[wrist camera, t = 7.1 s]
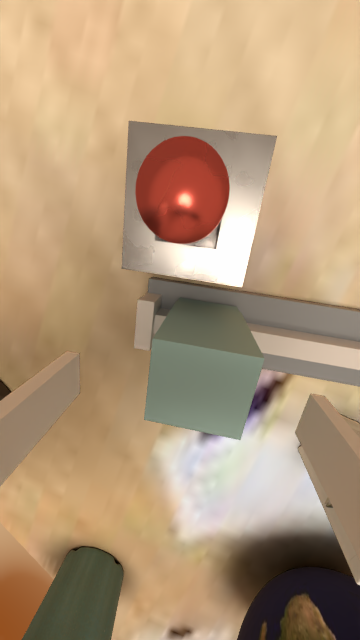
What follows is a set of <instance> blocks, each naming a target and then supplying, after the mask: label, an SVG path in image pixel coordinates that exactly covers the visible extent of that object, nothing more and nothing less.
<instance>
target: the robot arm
mask: <svg viewBox="0 0 360 640" xmlns="http://www.w3.org/2000/svg"><path fill="white" fill-rule="evenodd" d="M79 394H80V353H75V352H69V351H66V352H65V353H64V354H62V355H61V356H60V357H58V358H57V359H56V360H54V361H53V362H52V363H50V364H49V365H48V366H46V367H45V368H44V369H42V370H41V371H40V372H38V373H37V374H36V375H34V376H33V377H32V378H30V379H29V380H28V381H26V382H25V383H24V384H22V385H21V386H19V387H18V388H17V389H15V390H14V391H13V392H11V393H10V391H9V390H8V389H7V388H6V386H5V385H4V384H3V383H2V382H1V381H0V486H1V485H2V484H3V483H4V481H5V480H6V479H7V478H8V477H9V476H10V474H11V473H12V472H13V471H14V470H15V469H16V467H17V466H18V465H19V464H20V463H21V462H22V460H23V459H24V458H25V457H26V456H27V455H28V453H29V452H30V451H31V450H32V449H33V448H34V446H35V445H36V444H37V443H38V442H39V440H40V439H41V438H42V437H43V436H44V435H45V433H46V432H47V431H48V430H49V429H50V428H51V426H52V425H53V424H54V423H55V422H56V421H57V419H58V418H59V417H60V416H61V415H62V414H63V412H64V411H65V410H66V409H67V408H68V407H69V405H70V404H71V403H72V402H73V401H74V400H75V398H76V397H77V396H78V395H79ZM295 433H296V435H297V437H298V439H299V441H300V443H301V445H302V447H303V449H304V451H305V453H306V455H307V457H308V459H309V461H310V463H311V465H312V467H313V469H314V471H315V473H316V475H317V477H318V479H319V481H320V483H321V485H322V487H323V489H324V491H325V493H326V494H327V496H328V498H329V500H330V502H331V504H332V506H333V508H334V510H335V512H336V514H337V516H338V518H339V520H340V522H341V524H342V526H343V528H344V530H345V532H346V534H347V536H348V538H349V540H350V542H351V544H352V546H353V548H354V550H355V552H356V554H357V556H358V558H359V560H360V438H359V437H358V435H357V434H356V433H355V432H354V431H353V429H352V428H351V427H350V426H349V425H348V423H347V422H346V421H345V420H344V419H343V417H342V416H341V415H340V414H339V413H338V411H337V410H336V409H335V408H334V407H333V405H332V404H331V403H330V402H329V401H328V399H327V398H326V397H325V396H321V395H316V394H310V396H309V398H308V401H307V404H306V406H305V409H304V411H303V414H302V416H301V419H300V421H299V424H298V426H297V429H296V431H295Z"/></svg>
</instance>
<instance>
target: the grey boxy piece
mask: <svg viewBox="0 0 360 640" xmlns="http://www.w3.org/2000/svg"><path fill="white" fill-rule="evenodd" d="M177 136H191V137H196V138H198V139H201V140H203V141H205V142H207V143H208V144H209V145H211V146H212V147H213V148H214V149H215V150H216V151H217V152H218V154H219V155H220V157H221V158H222V160H223V162H224V164H225V166H226V169H227V172H228V176H229V184H230V193H229V200H228V204H227V207H226V210H225V213H224V215H223V217H222V219H221V221H220V223H219V224H218V226H217V227H216V228H215V230H214V231H213V232H212V233H211V234H209V235H208V236H207V237H205V238H204V239H202V240H200V241H197V242H195V243H190V244H177V243H172V242H168V241H166V240H163V239H161V238H160V237H158V236H157V235H155V234H154V233H153V232H152V231H151V230H150V229H149V228H148V227H147V226H146V224H145V223H144V221H143V220H142V218H141V215H140V213H139V210H138V207H137V203H136V195H135V187H136V180H137V175H138V172H139V169H140V167H141V165H142V163H143V161H144V159H145V158H146V156H147V155H148V154H149V153H150V151H151V150H152V149H153V148H154V147H156V146H157V145H158V144H160V143H161V142H163V141H165V140H167V139H169V138H173V137H177ZM276 138H277V136H272V135H262V134H252V133H242V132H233V131H223V130H213V129H203V128H194V127H184V126H174V125H164V124H155V123H145V122H135V121H129V128H128V149H127V169H126V190H125V210H124V231H123V252H122V269H128V270H134V271H141V272H147V273H153V274H160V275H166V276H173V277H179V278H185V279H192V280H198V281H204V282H211V283H217V284H224V285H230V286H236V287H242V285H243V281H244V277H245V272H246V268H247V264H248V259H249V255H250V251H251V246H252V242H253V238H254V233H255V229H256V225H257V221H258V216H259V212H260V208H261V203H262V199H263V195H264V190H265V186H266V182H267V177H268V173H269V169H270V164H271V160H272V156H273V151H274V147H275V143H276Z"/></svg>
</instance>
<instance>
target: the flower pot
mask: <svg viewBox="0 0 360 640" xmlns="http://www.w3.org/2000/svg"><path fill="white" fill-rule="evenodd" d="M122 580H123V569H122V567H121V565H120V564H116V563H115V561H114V558H113V557H112V556H111V555H109V554H108V553H106V552H104V551H102V550H99V549H96V548H88V547H81V548H79V549H78V550H77V551H75V550H72V551H70V552H69V553H68V554H67V556H66V558H65V560H64V562H63V564H62V566H61V567H60V569H59V571H58V573H57V575H56V577H55V579H54V581H53V582H52V584H51V586H50V588H49V590H48V592H47V594H46V596H45V598H44V600H43V601H42V603H41V605H40V607H39V609H38V611H37V612H36V615H35V616H34V618H33V620H32V622H31V624H30V626H29V628H28V630H27V631H26V633H25V635H24V637H23V638H22V640H111V637H112V631H113V626H114V621H115V616H116V611H117V606H118V601H119V595H120V590H121V585H122Z"/></svg>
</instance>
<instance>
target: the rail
mask: <svg viewBox="0 0 360 640" xmlns="http://www.w3.org/2000/svg"><path fill="white" fill-rule="evenodd" d="M179 297H180V298H186V299H192V300H198V301H205V302H211V303H217V304H223V305H229V306H235V307H237V308H238V310H239V312H241V313H242V315H243V317H244V319H245V321H246V323H247V325H248V327H249V329H250V331H251V333H252V335H253V337H254V339H255V341H256V343H257V345H258V347H259V349H260V350H261V352H262V354H263V356H264V358H265V359H264V362H263V366H262V369H267V370H273V371H278V372H283V373H289V374H294V375H300V376H305V377H311V378H316V379H322V380H327V381H332V382H338V383H343V384H349V385H354V386H360V310H359V309H353V308H346V307H340V306H334V305H327V304H321V303H315V302H308V301H302V300H296V299H289V298H283V297H277V296H270V295H264V294H258V293H251V292H245V291H239V290H232V289H226V288H220V287H213V286H207V285H201V284H194V283H188V282H182V281H176V280H169V279H163V278H157V277H151V278H149V283H148V293H146V294H145V295H143V296H142V297H141V298H139V299H138V301H137V314H136V327H135V341H134V348H137V349H142V350H148V351H150V349H151V348H152V340H153V337H154V335H155V334H156V332H157V331H158V329H159V328H160V326H161V324H162V323H163V321H164V320H165V318H166V317H167V315H168V313H169V312H170V310H171V309H172V307H173V305H174V304H175V302H176V301H178V299H179Z"/></svg>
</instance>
